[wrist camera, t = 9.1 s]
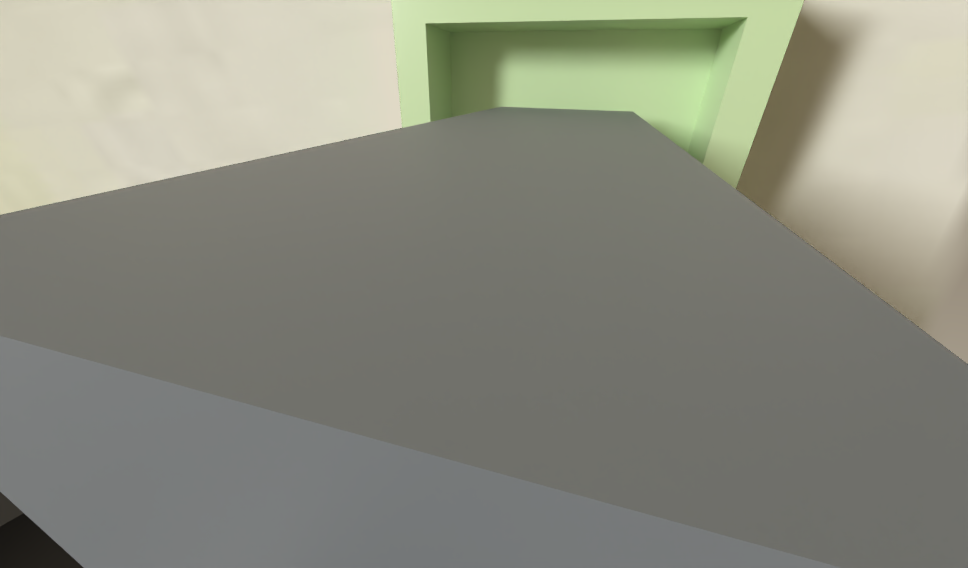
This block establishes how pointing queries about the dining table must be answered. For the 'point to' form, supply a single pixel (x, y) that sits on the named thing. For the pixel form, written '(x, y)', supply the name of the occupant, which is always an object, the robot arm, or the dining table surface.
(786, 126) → the dining table surface
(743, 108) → the holder
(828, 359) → the gray rectangular block
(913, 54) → the dining table surface
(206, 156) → the dining table surface
